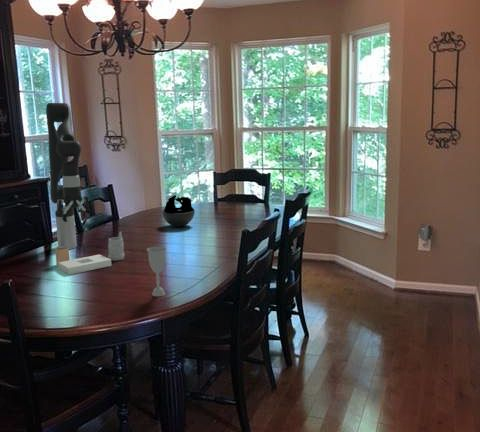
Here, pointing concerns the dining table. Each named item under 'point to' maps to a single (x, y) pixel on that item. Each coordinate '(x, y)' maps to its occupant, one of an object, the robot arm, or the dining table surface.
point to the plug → (62, 254)
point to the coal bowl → (178, 211)
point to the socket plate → (84, 264)
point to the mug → (116, 248)
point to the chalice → (157, 266)
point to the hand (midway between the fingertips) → (74, 220)
